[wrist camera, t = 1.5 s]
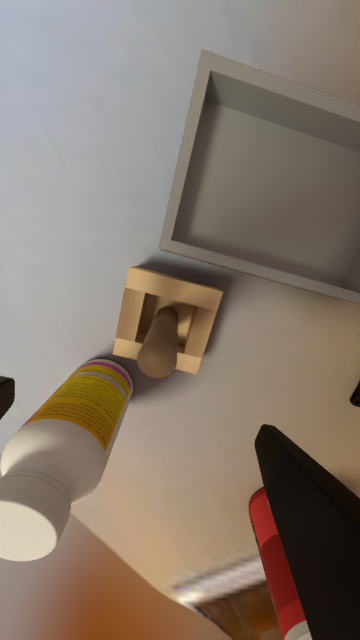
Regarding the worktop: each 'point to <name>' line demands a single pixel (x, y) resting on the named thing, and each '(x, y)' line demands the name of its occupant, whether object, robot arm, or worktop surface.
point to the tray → (268, 180)
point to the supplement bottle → (59, 458)
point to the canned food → (277, 570)
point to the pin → (160, 345)
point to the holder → (166, 291)
